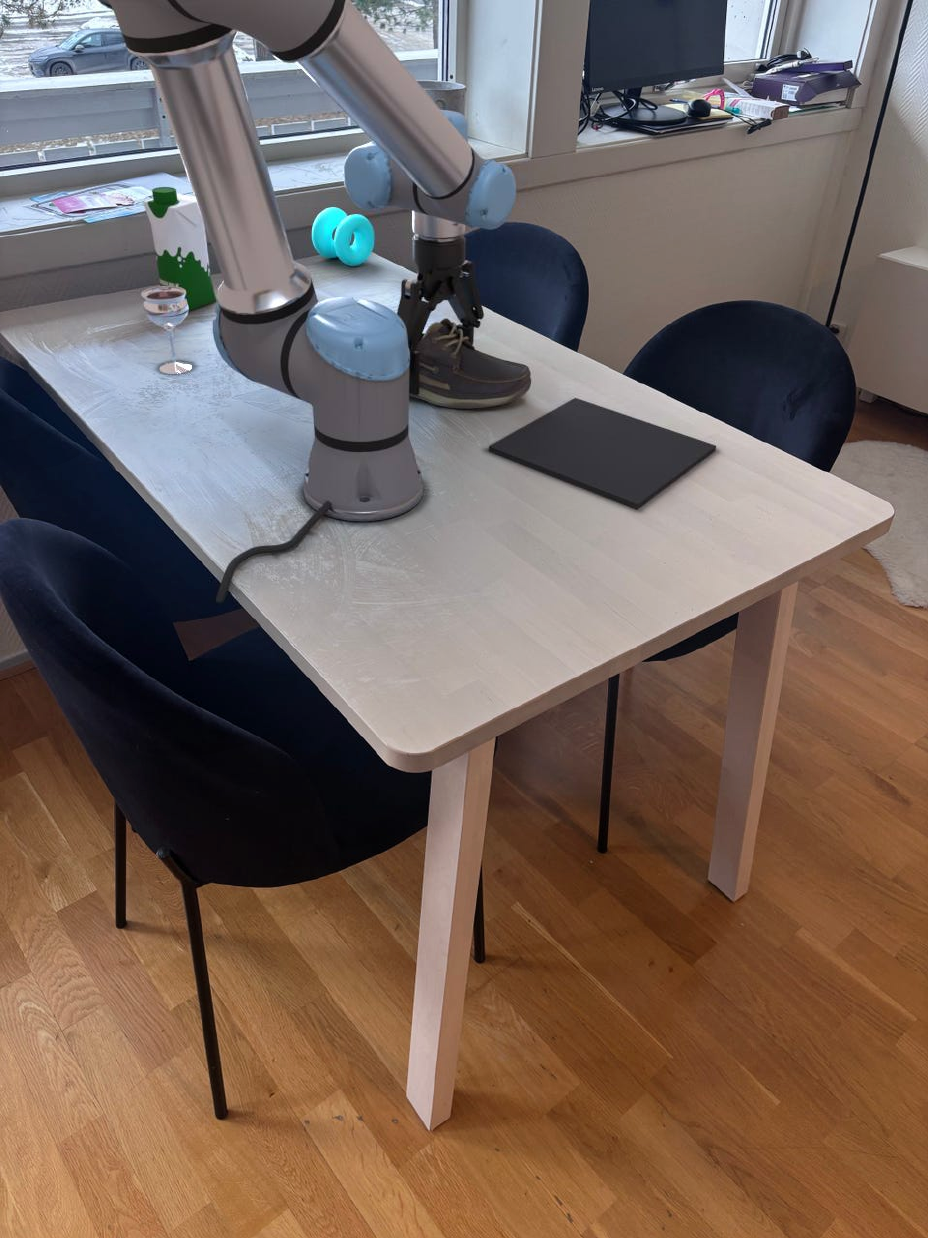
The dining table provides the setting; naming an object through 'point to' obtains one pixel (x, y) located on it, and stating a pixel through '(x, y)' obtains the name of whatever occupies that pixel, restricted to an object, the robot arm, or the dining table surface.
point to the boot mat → (604, 451)
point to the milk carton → (180, 245)
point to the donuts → (343, 236)
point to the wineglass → (167, 317)
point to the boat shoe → (465, 371)
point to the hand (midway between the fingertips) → (437, 379)
